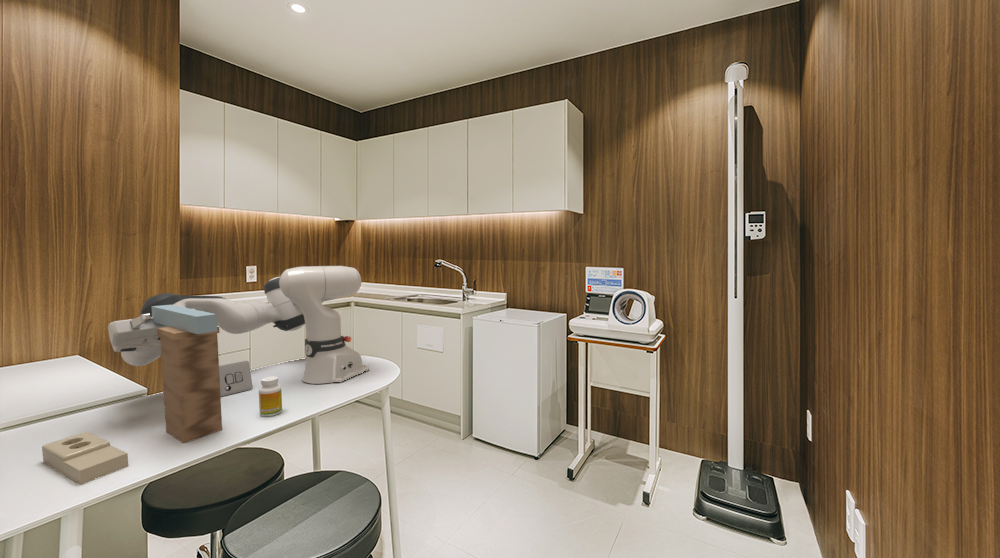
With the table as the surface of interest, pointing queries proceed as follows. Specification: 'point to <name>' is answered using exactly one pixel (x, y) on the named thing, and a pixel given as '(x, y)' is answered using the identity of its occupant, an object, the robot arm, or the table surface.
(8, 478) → the table surface
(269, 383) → the supplement bottle
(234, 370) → the electrical switch
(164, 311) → the batten
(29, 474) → the table surface
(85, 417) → the table surface
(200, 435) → the tall wooden block
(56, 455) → the electrical outlet
